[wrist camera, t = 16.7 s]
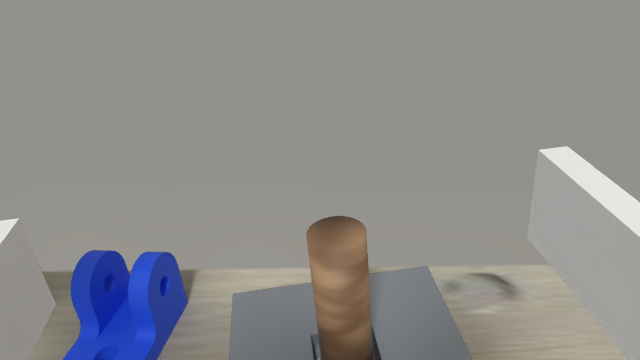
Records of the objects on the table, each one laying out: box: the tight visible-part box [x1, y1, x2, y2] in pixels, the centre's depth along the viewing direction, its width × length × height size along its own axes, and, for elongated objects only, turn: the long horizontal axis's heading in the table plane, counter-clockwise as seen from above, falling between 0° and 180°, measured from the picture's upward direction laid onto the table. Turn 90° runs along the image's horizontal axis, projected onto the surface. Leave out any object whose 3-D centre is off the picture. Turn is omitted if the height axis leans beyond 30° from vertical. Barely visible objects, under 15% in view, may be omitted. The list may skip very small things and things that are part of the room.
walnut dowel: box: [307, 216, 373, 360], centre depth 42 cm, size 4×4×16 cm
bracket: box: [63, 250, 188, 360], centre depth 51 cm, size 18×8×9 cm, turn 171°
